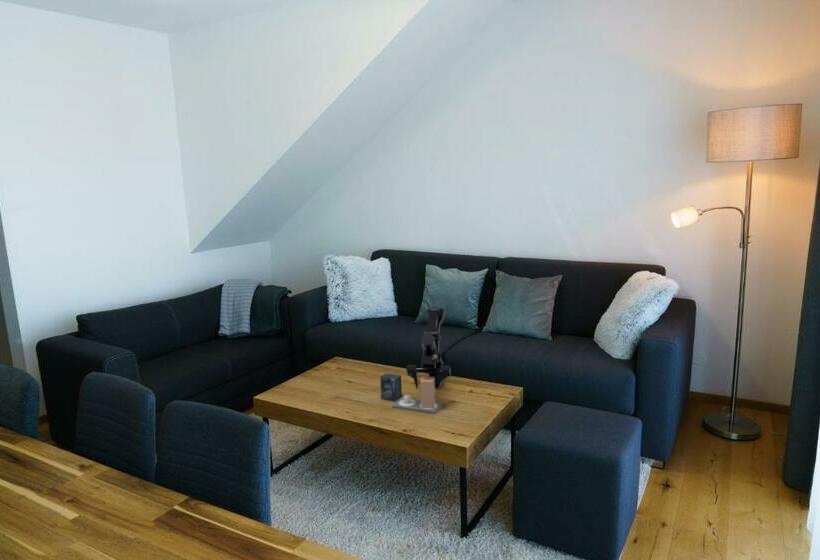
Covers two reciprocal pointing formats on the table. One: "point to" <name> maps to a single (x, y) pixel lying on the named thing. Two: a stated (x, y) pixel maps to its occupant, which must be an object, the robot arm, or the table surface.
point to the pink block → (427, 392)
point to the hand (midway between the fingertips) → (427, 389)
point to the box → (391, 387)
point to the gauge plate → (415, 405)
